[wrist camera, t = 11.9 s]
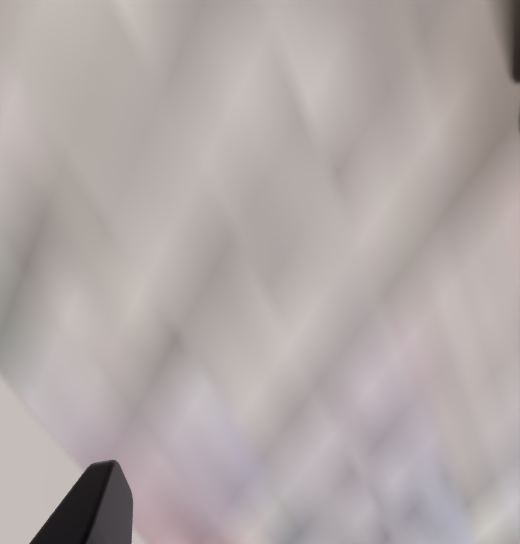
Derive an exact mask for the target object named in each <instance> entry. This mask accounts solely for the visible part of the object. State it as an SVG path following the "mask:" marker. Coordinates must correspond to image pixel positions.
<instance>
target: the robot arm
mask: <svg viewBox="0 0 520 544" xmlns="http://www.w3.org/2000/svg"><path fill="white" fill-rule="evenodd" d="M132 518H133V498H132V493H131V489H130V487H129V485H128V483H127V480H126V478H125V476H124V474H123V471H122V469H121V467H120V465H119V463H118V462H117V461H116V460H108V461H102V462H97V463H93V464H91V465H90V466H89V467H88V468H87V469H86V470H85V472H84V473H83V474H82V475H81V477H80V478H79V479H78V481H77V482H76V483H75V485H74V486H73V487H72V489H71V490H70V491H69V492H68V494H67V495H66V496H65V498H64V499H63V500H62V502H61V503H60V504H59V506H58V507H57V508H56V509H55V511H54V512H53V513H52V515H51V516H50V517H49V519H48V520H47V521H46V523H45V524H44V525H43V527H42V528H41V529H40V531H39V532H38V533H37V534H36V536H35V537H34V538H33V540H32V541H31V542H30V544H131V542H132Z"/></svg>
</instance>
